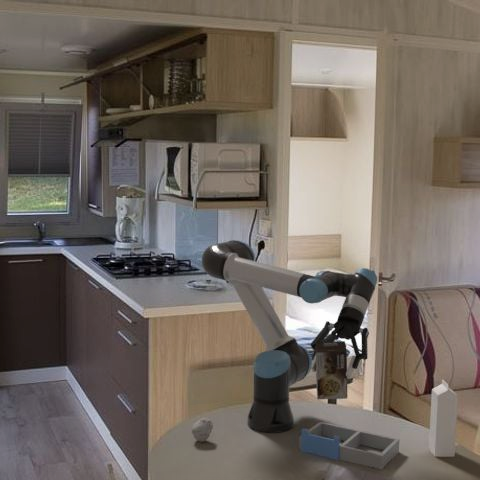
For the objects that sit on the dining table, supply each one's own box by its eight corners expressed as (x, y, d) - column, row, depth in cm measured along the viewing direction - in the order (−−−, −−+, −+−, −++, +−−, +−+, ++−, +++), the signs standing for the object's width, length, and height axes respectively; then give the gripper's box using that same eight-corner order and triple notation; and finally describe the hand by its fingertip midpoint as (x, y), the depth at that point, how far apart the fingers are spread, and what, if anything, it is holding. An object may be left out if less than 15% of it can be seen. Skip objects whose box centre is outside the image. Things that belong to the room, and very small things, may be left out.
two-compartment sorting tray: (298, 450, 224) (298, 428, 223) (319, 433, 237) (320, 413, 236) (380, 470, 211) (381, 447, 210) (398, 451, 224) (399, 430, 223)
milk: (447, 449, 227) (452, 378, 225) (454, 457, 221) (459, 385, 219) (428, 449, 227) (432, 378, 224) (434, 457, 221) (438, 384, 218)
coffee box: (345, 388, 228) (345, 340, 223) (347, 399, 222) (347, 351, 216) (315, 388, 229) (315, 341, 223) (316, 399, 222) (316, 351, 217)
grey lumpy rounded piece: (217, 440, 230) (217, 418, 229) (200, 446, 225) (200, 424, 224) (203, 435, 234) (204, 413, 233) (186, 440, 229) (187, 419, 228)
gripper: (390, 324, 230) (369, 387, 219) (322, 313, 242) (298, 372, 230) (386, 311, 225) (364, 374, 213) (316, 300, 236) (291, 359, 225)
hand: (330, 373), depth 222 cm, fingers closed on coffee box, 11 cm apart
